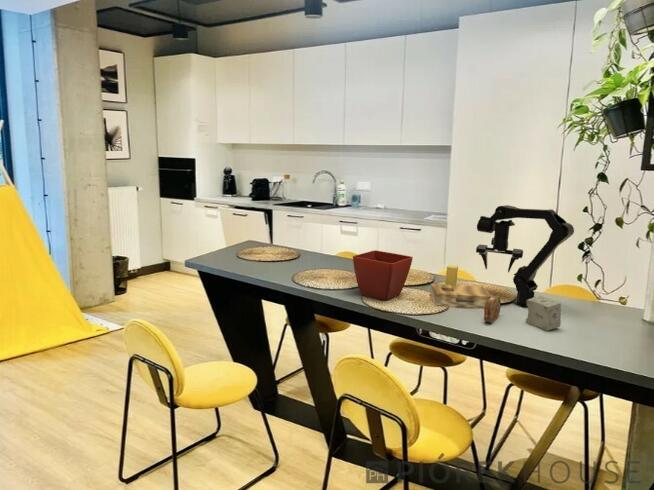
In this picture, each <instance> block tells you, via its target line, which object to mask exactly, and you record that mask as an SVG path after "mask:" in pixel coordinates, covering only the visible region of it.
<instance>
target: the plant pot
mask: <svg viewBox="0 0 654 490" xmlns="http://www.w3.org/2000/svg"><path fill="white" fill-rule="evenodd" d="M352 263H353V269H354V274H355V280H356V283H357V287H358V290H359V293H360V295H362V296H366V297H370V298H373V299H374V298H375V299H379V300H382V301H388V300H390V299H392V298H395V297H398V296H400V295H401V293H402V291H403V288H404V286H405V284H406V281H407V280H408V279H407V278H408V276H409V273H410V270H411V267H412V263H413V256H411V255H406V254H405V255H404V254H401V253H399V254H398V253H393V252H388V251H381V250H370V251H368V252H363V253H359V254H356V255H352Z"/></svg>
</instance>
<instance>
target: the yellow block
mask: <svg viewBox="0 0 654 490" xmlns="http://www.w3.org/2000/svg"><path fill="white" fill-rule="evenodd" d="M458 271H459V266H458V265H457V266H456V265H451V264H450V265H449V264H448V265H447V266H446V273H445V276H446V277H445V284H444V285H457V283H458V281H457V279H458Z"/></svg>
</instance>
